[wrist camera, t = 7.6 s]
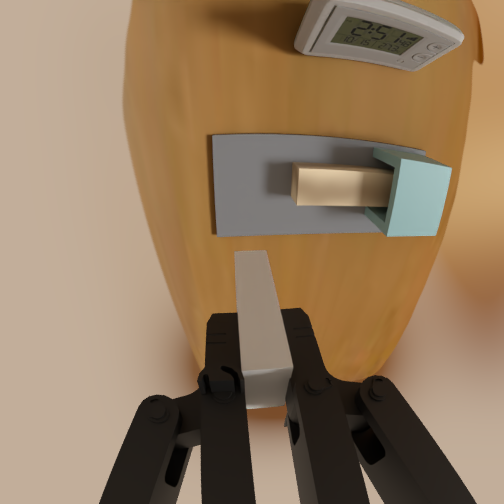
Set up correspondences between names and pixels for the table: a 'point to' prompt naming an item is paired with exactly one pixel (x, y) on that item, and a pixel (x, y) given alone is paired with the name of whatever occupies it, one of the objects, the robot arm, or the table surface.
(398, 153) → the end cap
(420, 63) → the digital clock
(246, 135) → the mat
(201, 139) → the table surface
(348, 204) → the slat
